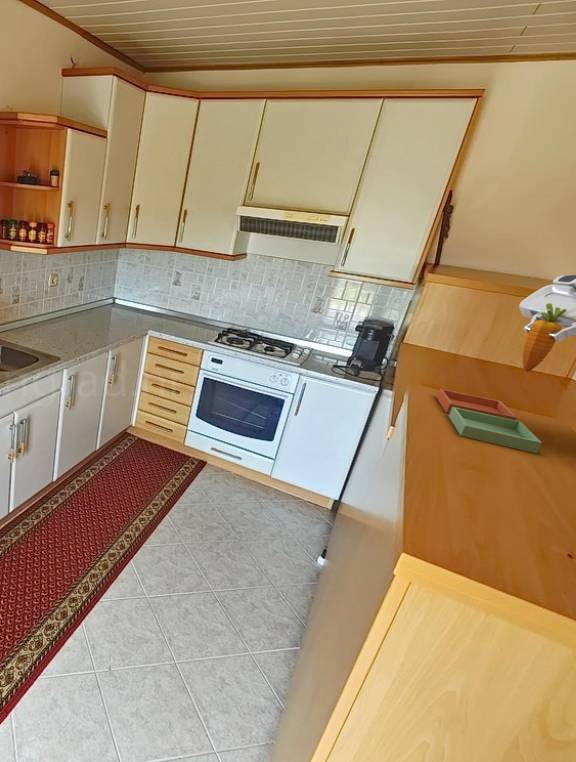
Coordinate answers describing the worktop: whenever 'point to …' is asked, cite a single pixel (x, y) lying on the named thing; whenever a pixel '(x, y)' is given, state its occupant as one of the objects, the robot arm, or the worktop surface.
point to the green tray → (494, 430)
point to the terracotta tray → (473, 404)
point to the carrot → (541, 338)
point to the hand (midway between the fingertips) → (540, 334)
